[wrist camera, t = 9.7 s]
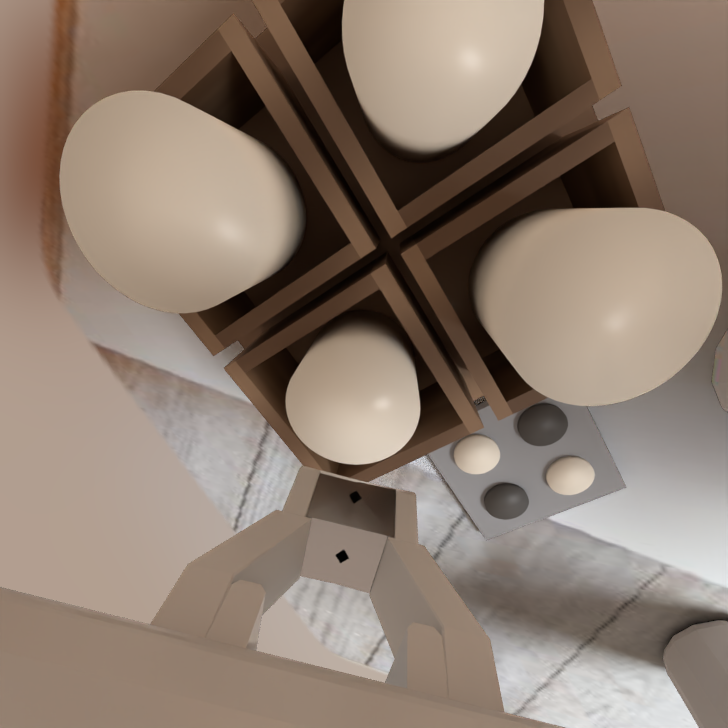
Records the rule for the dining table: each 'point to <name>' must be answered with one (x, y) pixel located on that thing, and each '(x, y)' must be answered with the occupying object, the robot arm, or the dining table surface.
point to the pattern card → (528, 465)
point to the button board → (402, 207)
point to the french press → (721, 372)
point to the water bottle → (701, 671)
